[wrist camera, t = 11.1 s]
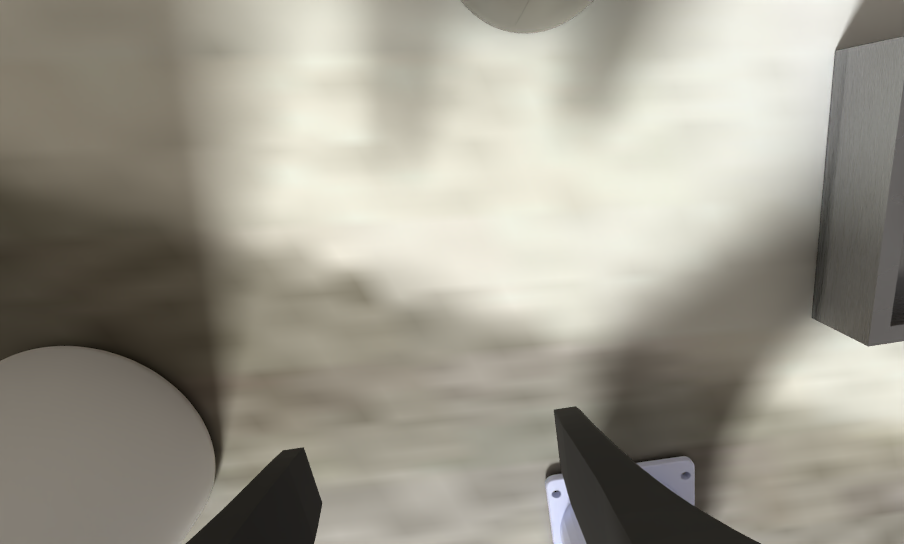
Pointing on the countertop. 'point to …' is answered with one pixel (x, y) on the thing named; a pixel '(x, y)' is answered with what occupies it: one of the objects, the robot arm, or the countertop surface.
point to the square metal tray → (864, 197)
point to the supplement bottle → (526, 13)
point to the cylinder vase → (97, 451)
